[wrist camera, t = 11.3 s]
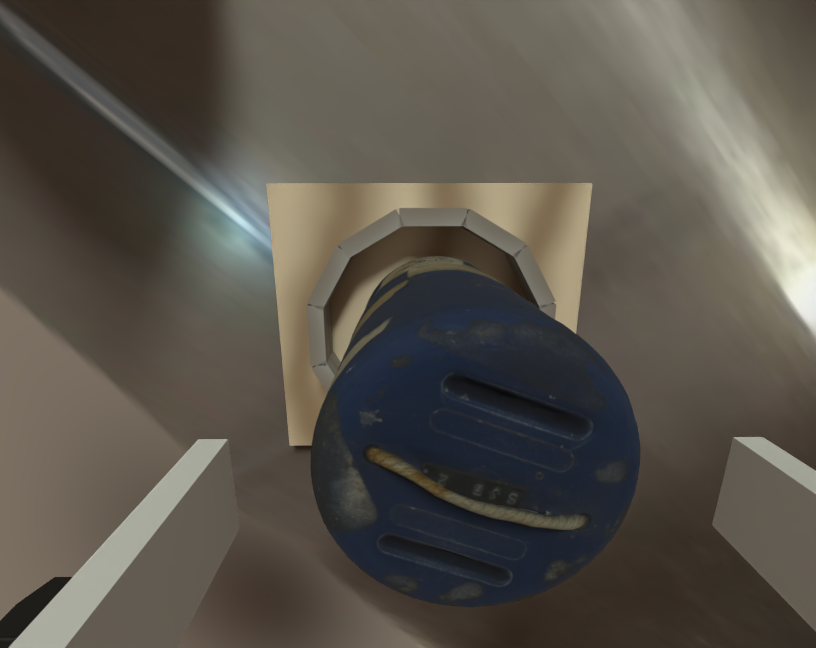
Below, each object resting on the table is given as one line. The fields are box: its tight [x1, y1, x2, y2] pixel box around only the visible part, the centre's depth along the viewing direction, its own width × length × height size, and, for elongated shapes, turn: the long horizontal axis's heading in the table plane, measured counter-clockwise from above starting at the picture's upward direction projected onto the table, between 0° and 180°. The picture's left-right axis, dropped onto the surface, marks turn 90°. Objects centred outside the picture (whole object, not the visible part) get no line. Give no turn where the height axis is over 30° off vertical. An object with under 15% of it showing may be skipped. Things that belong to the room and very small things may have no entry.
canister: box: [311, 256, 640, 607], centre depth 18 cm, size 10×10×18 cm
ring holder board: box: [267, 183, 592, 446], centre depth 26 cm, size 20×18×4 cm
